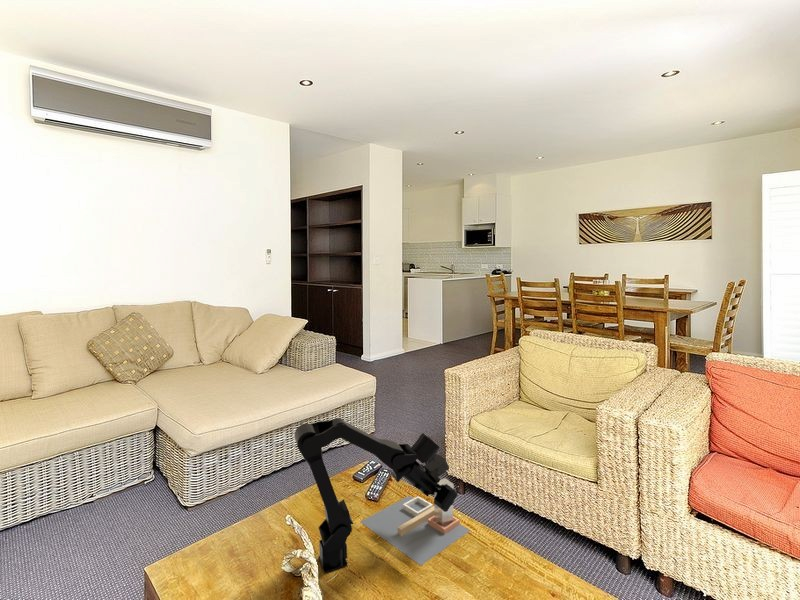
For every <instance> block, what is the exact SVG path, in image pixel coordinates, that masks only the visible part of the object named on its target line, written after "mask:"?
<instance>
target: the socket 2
mask: <svg viewBox="0 0 800 600" xmlns="http://www.w3.org/2000/svg"><path fill="white" fill-rule="evenodd" d="M460 521H461V520H460V519H459V518H457V517H455V516H454V515H453V523H451V524H449V525H448V526H446V527H445V528H444V527H442V526H441V525H439V524H437V523H436V522H434V516H432V517H431V518H429V519H428V524H429V525H430V526H432V527H433V528H435V529H437V530H438V531H440V532H442V533H443V534H446V533H448V532H449V531H451V530H452V529H454V528H455V527H457V526H458V525H461V523H460Z"/></svg>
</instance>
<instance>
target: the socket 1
mask: <svg viewBox="0 0 800 600" xmlns="http://www.w3.org/2000/svg"><path fill="white" fill-rule="evenodd" d="M413 498H414V499H412V500H410V501H408V502H406V503H404V504H403V509H404V510H406V511H407V512H409V513H411V514H412V515H414V516H418V515H419V514H421V513H423V512H425V511H426V510H428V509H430V508H431V507H433V506H434V503H431V502H429V501H427V500H425V499H424V498H422V497H420V496H418V495H417V496H416V497H413ZM417 502H419V503H421V504H422V505H424V506H426V507H425V508H424V509H422V510H420V511H418V512H417V511H416V510H414V509H412V508H411V507H410V506H411V505H413V504H415V503H417Z"/></svg>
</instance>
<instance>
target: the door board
mask: <svg viewBox="0 0 800 600" xmlns="http://www.w3.org/2000/svg"><path fill="white" fill-rule="evenodd" d="M414 498H415V497H413V496H411V495H408V496H406V497H404V498H402V499H400V500H398V501H397V502H395V503H392V504H391V505H389V506H387V507H385V508H383V509H382V510H380V511H378V512H376V513H374V514H372V515H369V516H368V517H366V518H364V519H362V520H361V521H360V524H362V525H363V526H366V528H368V529H369V530H371V532H374V533H375V534H376V535H378V536H379V537H380V538H382V539H383V540H385V541H386V542H387V543H388V544H390V545H391V546H393V548H395V549H397V550H399V551H400V552H401V553H402V554H404V555H405V556H407V557H409V559H411V560H412V561H413V562H415V563H416V564H418V565H419V566H422V565H424V564H426V562H428V561H430V560H431V559H432V558H434V557H435V556H436V555H438V554H439V553H441V552H442V551H444V550H445V549H447V548H448V547H450V546H451V545H452V544H454V543H455V542H457V541H458V540H460V539H461V538H463V537H464V536H465V535H466V534H468V533H470V532H471V531H472V530H471V529H469V528H468V527H466V526H464V525H463V524H460V525H458V526H457V527H455V528H454V529H452V530H451V531H449V532H448V533H446V534H443V533H442V532H440V531H438V530H437V529H435V528H433V527H432V526H430V525H429V524H428V519H429V518H431V517H432V516H434V505H433V507H431V508H430V509H428V510H426V511H425V512H423V513H421V514H419V515H418V516H414V515H412V514H411V513H409V512H407V511H406V510H404V509H403V504H404V503H406V502H408V501H410V500H412V499H414ZM410 507H411V508H412V509H414V510H416V511H417V512H418V511H420V510H422V509H424V508H425V507H426V506H424V505H422V504H421V503H419V502H417V503H415V504H413V505H411V506H410Z"/></svg>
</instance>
